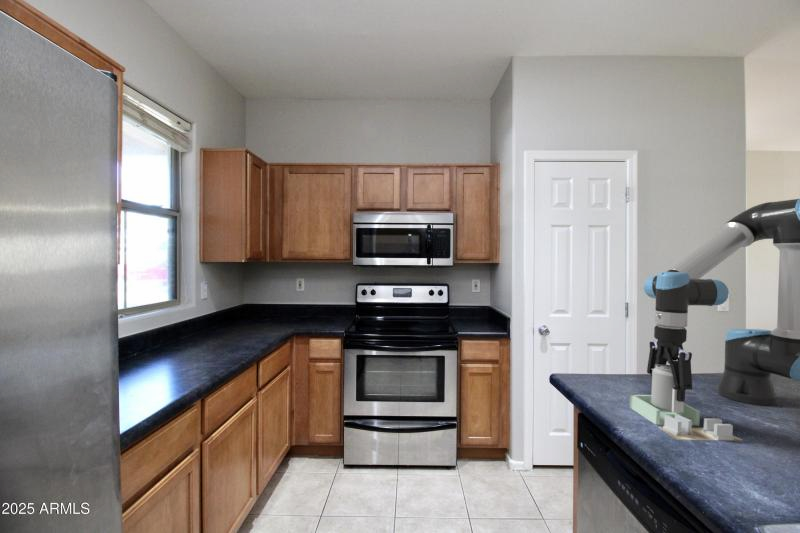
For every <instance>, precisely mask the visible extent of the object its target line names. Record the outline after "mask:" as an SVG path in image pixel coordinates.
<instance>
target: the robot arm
mask: <svg viewBox="0 0 800 533" xmlns="http://www.w3.org/2000/svg"><path fill="white" fill-rule="evenodd" d="M769 239H770V240H772V245H773V246H774V247H775V248H777V249H778V250H779V257H778V258H779V260H778V262H779V263H778V267H779V268H778V290H777V294H778V295H777V318H776V319H777V320H776V321H777V322H776V324H777V325H776V328H774V329H773V330H769V329H760V328H759V329H757V328H755V329H754V328H732V329H731V328H730V329H729V330H727V332H726V336H725V337H726V338H725V340H724V343H725V345H724V346H725V347H724V370H723V373H722V375H721V378H720V380H719V382H718V383H717V384H716V393H717V394H719V395H720V396H723V397H725V398H728V399H730V400H733V401H738V402H741V403H746V404H751V405H759V406H774V405H777V402H778V395H777V394H776V392H775V389H774V384H773V382H772V379H771V378H772V377H771V375H772V374H773V375H777V376H779V377H784V378H787V379H791V380H793V381H796V382H800V198H793V199H786V200H779V201H770V202H769V201H767V202H763V203H760V204H757V205H754V206H752V207H750V208H748V209H746V210H744V211H742V212H741V213H739V214H737V215H735V216H734V217H732V218H731V219H730V220H728V221H726V222H725V223H724V224H723V225H722V227H721V228H720V231H719V232H717V233H716V234H715V235H714V236H712V237H711V238H710V239H708V240H707V241H706V242H704V243H703V244H702V245H700V246H699V247H698V248H696V249H695V250H694V251H693V252H691V253H690V254H688V255H687V256H686V257H684V258H683V259H682V260H680V261H679V262H678V263H676V264H675V265H673V266H672V267H670V269H668V270H667V271H660V272H659V273H658V274H657V275H651V276H649V277H647V278H646V280H645V281H644V284H643V290H644V293H645V294H646V295H647V297H650V298H652V299H655V315H654V317H655V319H654V323H655V326H654V328H653V329H654V333H653V337H654V339H655V340H657V341H649V353H648V362H647V367H646V368H647V369H646V373H647V375H648V374H649V375H650V377H651V378H652V370H653V369H654V368H656V366H655V365H657V364H660V365H664V364H665V365H667V363H668V365H670V366H671V370H672V375H673V380H674V384H675V387H673V390H672V412H678V413H683V407H684V403H685V401H686V390H687V391H688V390H689V391H691V390H693V377H692V374H693V373H692V359H693V358H692V356H693V354H692V352H687V351H685V349H684V347H683V343H686V342H687V338H688V336H687V335H688V332H687V327H688V317H689V316H688V312H689V306H704V307H705V306H706V307H713V306H720V305H722V304H724V303H725V302H727V300H728V297H729V294H730V293H729V288H728V286H727V285H726V283H724V282H723V281H721V280H720V279H719V280H718V279H712V278H707V279H705V278H703V277H704V276H705V275H707V274H708V273H710V272H711V271H712V270H713V269H715V268H717V266H718V265H720V264H721V263H723V262H724V261H726V259H728V258H729V257H731V256H732V255H734V254H735V253H736V252H737V251H738V250H740V249H741V248H746V247H749V246H751V245H752V244H753V243H755V242H758V241H763V240H769ZM702 278H703V279H702ZM679 384H680V385H679Z"/></svg>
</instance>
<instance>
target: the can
mask: <svg viewBox="0 0 800 533" xmlns="http://www.w3.org/2000/svg"><path fill="white" fill-rule="evenodd" d="M655 366H656V368H654V369H651V370H652V377H651V394H650V395H651V403H652V404H653V405H654V406H655V407H656V408H657V409H660V410H663V411H667V412H672V390H673V387H675V384H674V380H673V375H672V370H671V366H670V364H666V365H665V364H664V365H660V364H657V365H655ZM679 385H680V384H679Z"/></svg>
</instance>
